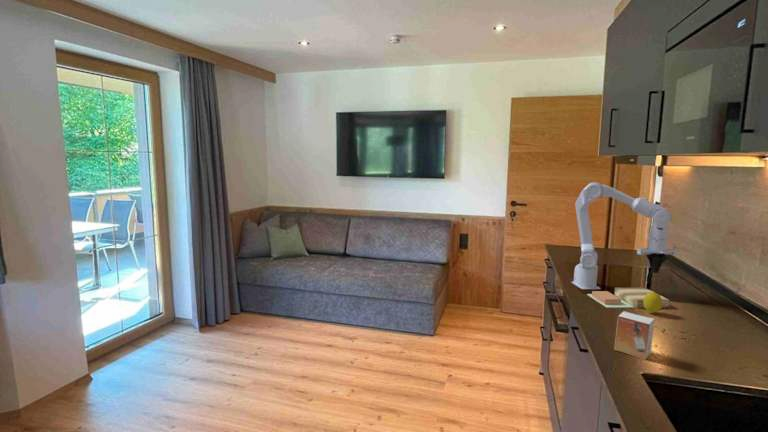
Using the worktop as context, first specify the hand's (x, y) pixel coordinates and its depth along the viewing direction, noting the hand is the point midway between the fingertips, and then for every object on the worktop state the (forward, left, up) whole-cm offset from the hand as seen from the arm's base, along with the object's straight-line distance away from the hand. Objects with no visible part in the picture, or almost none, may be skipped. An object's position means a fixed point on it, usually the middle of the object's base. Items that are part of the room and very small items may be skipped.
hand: (654, 272), depth 160 cm
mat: (+5, -20, -10) cm, 23 cm away
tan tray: (+5, -8, -10) cm, 14 cm away
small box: (+45, -37, -10) cm, 59 cm away
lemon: (+17, -12, -10) cm, 23 cm away
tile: (+5, -22, -8) cm, 23 cm away
